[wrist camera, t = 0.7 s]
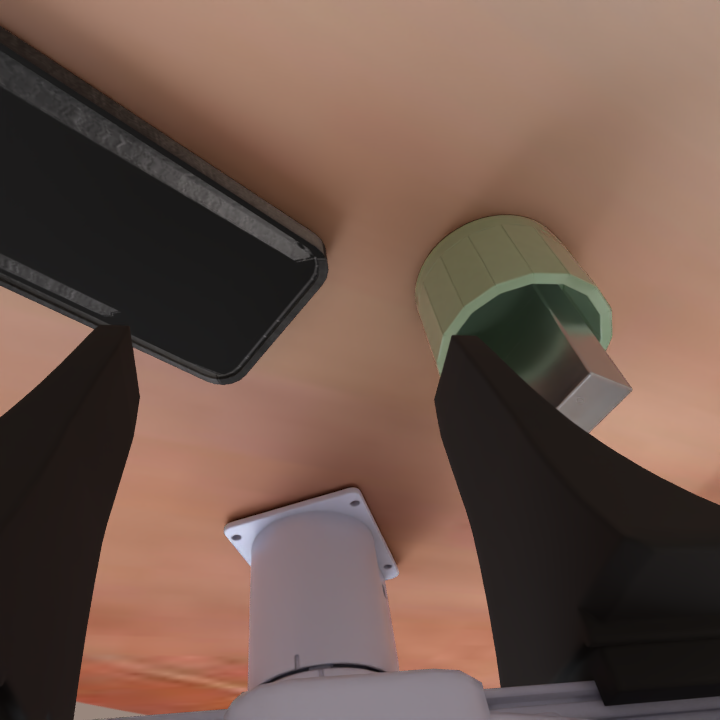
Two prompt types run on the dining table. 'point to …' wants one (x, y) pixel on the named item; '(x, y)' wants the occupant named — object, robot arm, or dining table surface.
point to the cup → (499, 277)
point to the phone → (139, 227)
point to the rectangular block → (551, 351)
